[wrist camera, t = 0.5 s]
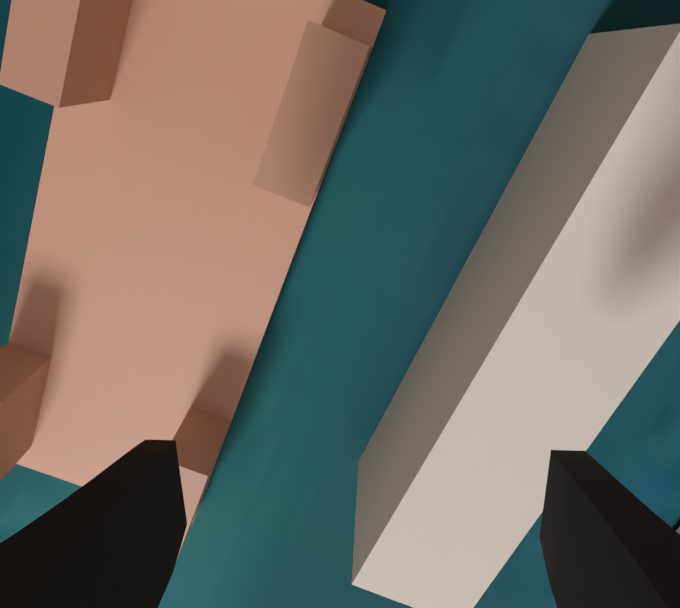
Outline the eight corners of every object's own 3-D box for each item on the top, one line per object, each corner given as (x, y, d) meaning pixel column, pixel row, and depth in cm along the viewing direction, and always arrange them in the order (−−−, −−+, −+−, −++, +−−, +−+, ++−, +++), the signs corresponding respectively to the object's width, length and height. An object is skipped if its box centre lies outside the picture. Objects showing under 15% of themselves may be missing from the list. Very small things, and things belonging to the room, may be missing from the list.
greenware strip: (693, 86, 18) (838, 98, 12) (442, 490, 23) (460, 625, 18) (587, 34, 17) (685, 22, 12) (358, 457, 23) (351, 584, 18)
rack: (385, 12, 17) (387, -1, 13) (199, 506, 24) (166, 587, 20) (113, -105, 16) (35, -152, 13) (2, 438, 24) (-68, 509, 20)
